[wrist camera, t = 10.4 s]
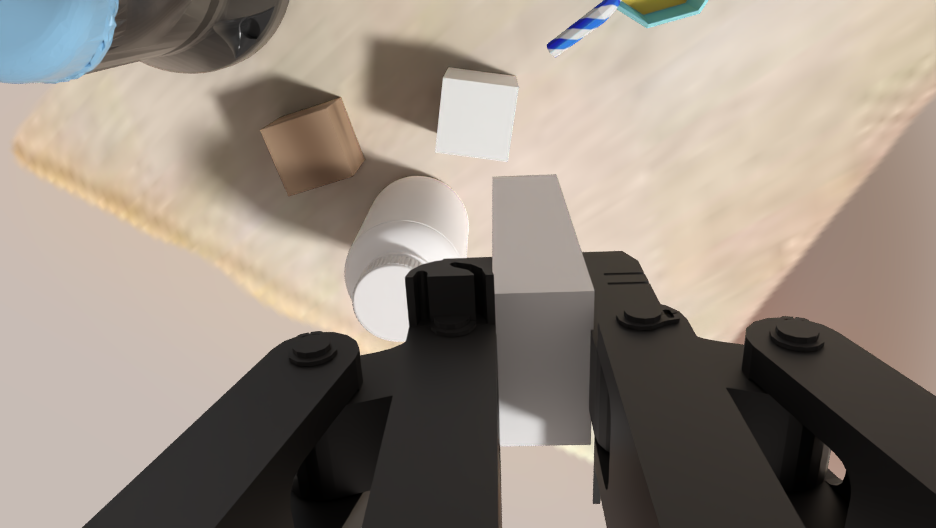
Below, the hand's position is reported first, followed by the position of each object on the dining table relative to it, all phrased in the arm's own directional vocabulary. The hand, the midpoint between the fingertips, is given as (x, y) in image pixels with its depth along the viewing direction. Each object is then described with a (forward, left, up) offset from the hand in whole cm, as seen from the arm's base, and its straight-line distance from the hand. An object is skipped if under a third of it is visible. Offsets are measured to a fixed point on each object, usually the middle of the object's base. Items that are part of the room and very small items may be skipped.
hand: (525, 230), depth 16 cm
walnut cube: (-14, -5, -37) cm, 39 cm away
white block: (-2, -3, -37) cm, 37 cm away
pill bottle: (-7, -12, -37) cm, 39 cm away
